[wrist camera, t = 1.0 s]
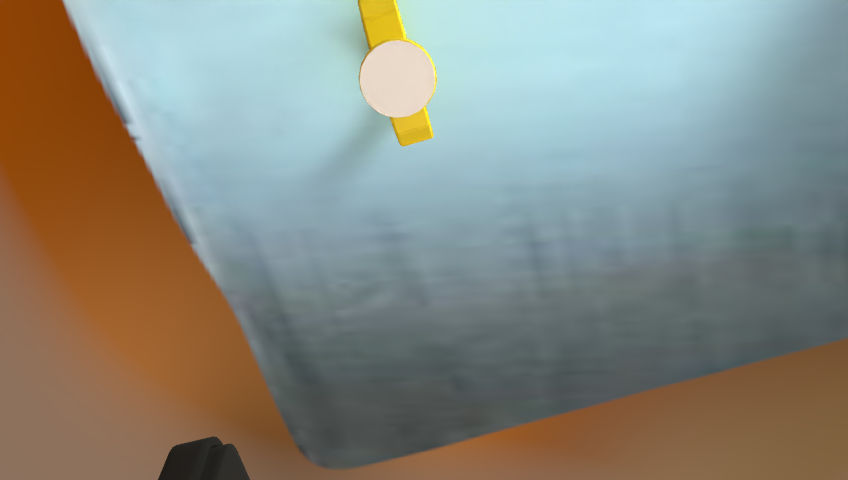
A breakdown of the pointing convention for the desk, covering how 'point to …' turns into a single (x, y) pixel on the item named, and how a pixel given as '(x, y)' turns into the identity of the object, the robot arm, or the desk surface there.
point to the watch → (396, 72)
